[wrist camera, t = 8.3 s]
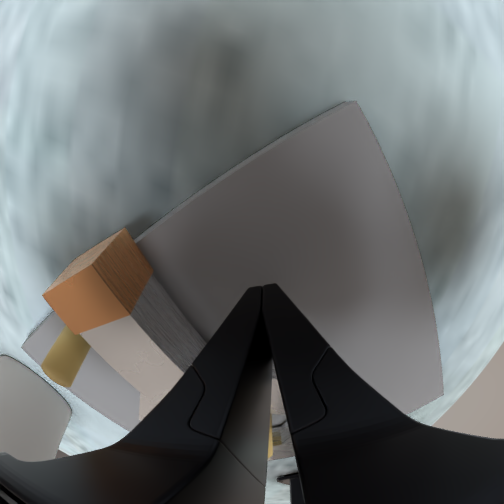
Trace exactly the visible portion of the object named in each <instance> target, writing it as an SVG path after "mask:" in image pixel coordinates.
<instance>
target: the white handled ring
mask: <svg viewBox="0 0 504 504" xmlns="http://www.w3.org/2000/svg"><path fill="white" fill-rule="evenodd" d="M153 271H154V270H153V268H152V267H151V265H150V264H149V262H148V261H147V260H146V258H145V257H144V255H143V254H142V252H141V251H140V249H139V248H138V246H137V245H136V243H135V242H134V240H133V239H132V237H131V236H130V234H129V233H128V231H127V229H126V228H123V229H122V230H120V231H118V232H117V233H115V234H113V235H112V236H110V237H109V238H107V239H105V240H104V241H102V242H100V243H99V244H97V245H96V246H94V247H93V248H91V249H89V250H88V251H86V252H85V253H83V254H82V255H80V256H79V257H77V258H76V259H74V260H73V261H72V263H71V264H70V265H69V266H68V267H67V268H66V269H65V270H64V271H63V272H62V273H61V274H60V275H59V277H58V278H57V279H56V280H55V281H54V282H53V283H52V284H51V286H50V287H49V288H48V289H47V290H46V291H45V292H44V294H43V295H42V296H43V297H44V299H45V300H46V301H47V302H48V304H49V305H50V306H51V307H52V309H53V310H54V311H55V312H56V314H57V315H58V316H59V317H60V318H61V320H62V321H63V322H64V323H65V324H66V325H67V327H68V328H69V329H70V330H71V331H72V332H73V333H74V334H75V335H77V334H80V335H81V336H82V337H83V338H84V339H85V340H86V341H87V343H88V344H89V345H90V346H91V347H92V348H93V349H94V350H95V351H96V352H97V353H98V354H99V355H100V356H101V357H102V358H103V359H104V360H105V361H106V362H107V363H108V364H109V365H110V366H111V367H112V368H113V369H115V370H116V371H117V372H118V373H119V374H120V375H121V376H122V377H123V378H124V379H125V380H127V381H128V382H129V383H130V384H131V385H132V386H133V387H135V388H136V389H137V390H138V391H139V392H140V405H139V420H140V421H141V420H142V419H143V418H144V417H145V416H146V415H147V414H148V413H149V412H150V411H151V410H152V409H153V408H154V407H155V406H156V405H157V404H158V403H159V402H160V401H161V400H162V399H163V398H164V397H165V396H166V395H167V393H168V392H169V391H170V390H171V389H172V388H173V387H174V385H175V384H176V383H177V382H178V380H179V379H180V378H181V377H182V376H183V374H184V373H185V372H186V370H187V369H188V368H189V366H191V365H192V363H193V361H194V360H195V359H196V357H197V356H198V355H199V353H200V352H201V351H202V349H203V348H204V347H205V345H206V344H207V343H206V342H205V341H204V339H203V338H202V337H201V336H200V334H199V333H198V332H197V331H196V330H195V328H194V327H193V326H192V325H191V323H190V322H189V321H188V320H187V318H186V317H185V316H184V314H183V313H182V312H181V311H180V309H179V308H178V307H177V305H176V304H175V303H174V301H173V300H172V299H171V297H170V296H169V295H168V293H167V292H166V291H165V289H164V288H163V287H162V285H161V284H160V283H159V281H158V280H157V278H156V277H155V276H154V274H153ZM270 413H271V414H279V415H285V410H284V406H283V402H282V398H281V393H280V389H279V385H278V380H277V376H276V372H275V367H274V363H273V369H272V391H271V411H270ZM285 416H286V415H285ZM272 441H273V455H272V456H271V457H270V458H268V460H275V459H282V458H287V457H293V456H295V453H294V449H293V445H292V440H291V436H290V432H289V427H288V423H287V421H286V422H285V423H284V424H283V425H282V426H281V427H277V428H272Z"/></svg>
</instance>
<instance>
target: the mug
mask: <svg viewBox="0 0 504 504" xmlns="http://www.w3.org/2000/svg"><path fill="white" fill-rule="evenodd" d="M70 418H71V408H70V407H69V405H68V403H67V402H66V401H65V400H64V399H63V397H62V396H61V395H60V394H59V393H58V392H57V391H56V390H55V389H54V388H52V387H51V386H50V385H49V384H48V383H47V382H46V381H44V380H43V379H42V378H41V377H39V376H38V375H37V374H36V373H34V372H33V371H32V370H30V369H29V368H27V367H26V366H24V365H23V364H21V363H20V362H18V361H16V360H15V359H13V358H10V357H8V356H0V453H1V452H7V453H8V454H10V455H12V456H13V457H15V458H16V459H18V460H21V461H28V462H37V461H45V460H51V459H55V456H56V453H57V450H58V448H59V445H60V442H61V440H62V437H63V435H64V432H65V430H66V428H67V426H68V423H69V421H70Z"/></svg>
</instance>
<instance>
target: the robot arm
mask: <svg viewBox="0 0 504 504" xmlns="http://www.w3.org/2000/svg"><path fill="white" fill-rule="evenodd" d="M273 363H274V367H275V372H276V376H277V380H278V385H279V389H280V393H281V398H282V402H283V406H284V410H285V415H286V419H287V423H288V427H289V432H290V436H291V440H292V445H293V449H294V453H295V458H296V463H297V467H298V472H299V474H296V475H291V476H286V477H280V478H277V482H280V483H284V484H288V485H290V500H291V504H504V439H494V438H488V437H481V436H475V435H470V434H464V433H459V432H454V431H449V430H445V429H441V428H436V427H432V426H428V425H425V424H422V423H420V422H417V421H415V420H414V419H412V418H410V417H409V416H407V415H406V414H404V413H403V412H402V411H400V410H399V409H398V408H397V407H395V406H394V405H393V404H392V403H391V402H389V401H388V400H387V399H386V398H385V397H383V396H382V395H381V394H380V393H379V392H377V391H376V390H375V389H374V388H373V387H371V386H370V385H369V384H368V383H367V382H366V381H364V380H363V379H362V378H361V377H360V376H359V375H358V374H357V373H356V372H355V371H353V370H352V369H351V368H350V367H349V366H348V364H347V363H346V362H345V361H344V360H343V359H342V358H341V357H340V356H339V355H338V354H337V352H336V351H335V350H334V349H333V348H332V347H331V346H330V345H329V343H328V342H327V341H326V340H325V339H324V338H323V336H322V335H321V334H320V333H319V332H318V331H317V329H316V328H315V327H314V326H313V325H312V324H311V322H310V321H309V320H308V319H307V318H306V317H305V316H304V314H303V313H302V312H301V311H300V310H299V309H298V307H297V306H296V305H295V304H294V303H293V302H292V300H291V299H290V298H289V297H288V296H287V295H286V293H285V292H284V291H283V290H282V289H281V288H280V286H279V285H278V284H277V283H272V284H266V285H264V286H263V287H262V286H254V287H249V288H248V289H247V290H246V291H245V293H244V294H243V295H242V297H241V298H240V299H239V301H238V302H237V304H236V305H235V306H234V308H233V309H232V310H231V312H230V313H229V314H228V316H227V317H226V318H225V320H224V321H223V323H222V324H221V325H220V327H219V328H218V329H217V331H216V332H215V333H214V335H213V336H212V337H211V339H210V340H209V341H208V343H207V344H206V345H205V347H204V348H203V349H202V351H201V352H200V353H199V355H198V356H197V357H196V359H195V360H194V361H193V363H192V365H191V366H189V368H188V369H187V370H186V372H185V373H184V374H183V376H182V377H181V378H180V379H179V380H178V382H177V383H176V384H175V385H174V387H173V388H172V389H171V390H170V391H169V392H168V393H167V395H166V396H165V397H164V398H163V399H162V400H161V401H160V402H159V403H158V404H157V405H156V406H155V407H154V408H153V409H152V410H151V411H150V412H149V413H148V414H147V415H146V416H145V417H144V418H143V419H142V420H141V421H140V422H139V423H138V424H137V425H136V426H135V427H134V428H133V429H132V430H131V431H130V432H129V433H128V434H127V435H126V436H125V437H124V438H122V439H121V440H120V441H118V442H117V443H115V444H113V445H111V446H108V447H106V448H103V449H99V450H95V451H91V452H86V453H82V454H78V455H73V456H68V457H63V458H57V459H51V460H45V461H37V462H28V461H21V460H18V459H16V458H15V457H13V456H12V455H10V454H8V453H7V452H1V453H0V504H264V501H265V486H266V475H267V461H268V445H269V429H270V411H271V391H272V369H273Z"/></svg>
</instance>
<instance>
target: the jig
mask: <svg viewBox="0 0 504 504" xmlns="http://www.w3.org/2000/svg"><path fill="white" fill-rule="evenodd" d="M134 242H135V243H136V245H137V246H138V248H139V249H140V251H141V252H142V254H143V255H144V257H145V258H146V260H147V261H148V262H149V264H150V265H151V267H152V268H153V270H154V271H153V274H154V276H155V277H156V278H157V280H158V281H159V283H160V284H161V285H162V287H163V288H164V289H165V291H166V292H167V293H168V295H169V296H170V297H171V299H172V300H173V301H174V303H175V304H176V305H177V307H178V308H179V309H180V311H181V312H182V313H183V314H184V316H185V317H186V318H187V320H188V321H189V322H190V323H191V325H192V326H193V327H194V328H195V330H196V331H197V332H198V333H199V334H200V336H201V337H202V338H203V339H204V341H205V342H206V343H208V341H209V340H210V339H211V337H212V336H213V335H214V333H215V332H216V331H217V329H218V328H219V327H220V325H221V324H222V323H223V321H224V320H225V318H226V317H227V316H228V314H229V313H230V312H231V310H232V309H233V308H234V306H235V305H236V304H237V302H238V301H239V299H240V298H241V297H242V295H243V294H244V293H245V291H246V290H247V289H248V288H249V287H254V286H262V287H263V286H264V285H266V284H272V283H277V284H278V285H279V286H280V288H281V289H282V290H283V291H284V292H285V293H286V295H287V296H288V297H289V298H290V299H291V300H292V302H293V303H294V304H295V305H296V306H297V307H298V309H299V310H300V311H301V312H302V313H303V314H304V316H305V317H306V318H307V319H308V320H309V321H310V322H311V324H312V325H313V326H314V327H315V328H316V329H317V331H318V332H319V333H320V334H321V335H322V336H323V338H324V339H325V340H326V341H327V342H328V343H329V345H330V346H331V347H332V348H333V349H334V350H335V351H336V352H337V354H338V355H339V356H340V357H341V358H342V359H343V360H344V361H345V362H346V363H347V364H348V366H349V367H350V368H351V369H352V370H353V371H355V372H356V373H357V374H358V375H359V376H360V377H361V378H362V379H363V380H364V381H366V382H367V383H368V384H369V385H370V386H371V387H373V388H374V389H375V390H376V391H377V392H379V393H380V394H381V395H382V396H383V397H385V398H386V399H387V400H388V401H389V402H391V403H392V404H393V405H394V406H395V407H397V408H398V409H399V410H400V411H402V412H403V413H404V414H409V413H411V412H413V411H415V410H416V409H418V408H420V407H422V406H424V405H426V404H428V403H430V402H432V401H433V400H435V399H437V398H439V397H440V396H442V395H444V393H443V377H442V366H441V356H440V348H439V340H438V334H437V327H436V321H435V316H434V310H433V305H432V300H431V295H430V291H429V286H428V282H427V278H426V274H425V270H424V266H423V262H422V258H421V255H420V251H419V248H418V245H417V241H416V238H415V235H414V232H413V228H412V225H411V222H410V219H409V216H408V214H407V211H406V208H405V205H404V202H403V200H402V197H401V194H400V192H399V189H398V187H397V184H396V182H395V179H394V177H393V175H392V172H391V170H390V167H389V165H388V163H387V161H386V158H385V156H384V154H383V152H382V150H381V148H380V145H379V143H378V141H377V139H376V137H375V135H374V133H373V131H372V129H371V127H370V125H369V123H368V121H367V119H366V118H365V116H364V114H363V112H362V110H361V108H360V107H359V105H358V103H357V101H349V102H343V103H341V104H340V105H338V106H336V107H334V108H332V109H330V110H328V111H326V112H325V113H323V114H321V115H319V116H317V117H315V118H314V119H312V120H310V121H308V122H306V123H305V124H303V125H301V126H299V127H298V128H296V129H294V130H293V131H291V132H289V133H287V134H286V135H284V136H282V137H281V138H279V139H277V140H276V141H274V142H272V143H271V144H269V145H268V146H266V147H264V148H263V149H261V150H259V151H258V152H256V153H255V154H253V155H252V156H250V157H248V158H247V159H245V160H244V161H242V162H241V163H239V164H238V165H236V166H235V167H233V168H232V169H230V170H229V171H227V172H226V173H224V174H223V175H221V176H220V177H218V178H217V179H215V180H214V181H212V182H211V183H209V184H208V185H207V186H205V187H204V188H202V189H201V190H199V191H198V192H197V193H195V194H194V195H192V196H191V197H190V198H188V199H187V200H185V201H184V202H183V203H181V204H180V205H179V206H177V207H176V208H175V209H173V210H172V211H170V212H169V213H168V214H166V215H165V216H164V217H163V218H161V219H160V220H159V221H157V222H156V223H155V224H153V225H152V226H151V227H150V228H148V229H147V230H146V231H144V232H143V233H142V234H141V235H139V236H138V237H137V238H136V239H134ZM21 348H22V349H23V350H24V351H25V352H26V353H27V354H28V355H29V356H30V357H31V358H32V359H33V360H34V361H35V362H36V363H37V364H38V365H40V366H41V368H42V370H43V371H44V373H45V374H46V375H47V376H48V377H49V378H50V379H51V380H53V381H54V382H56V383H57V384H59V385H61V386H63V387H65V388H67V389H68V390H69V391H70V392H72V393H73V394H74V395H76V396H77V397H78V398H80V399H81V400H82V401H84V402H85V403H86V404H88V405H89V406H91V407H92V408H93V409H95V410H96V411H98V412H99V413H101V414H102V415H104V416H105V417H107V418H108V419H110V420H112V421H113V422H115V423H116V424H118V425H120V426H121V427H123V428H125V429H126V430H128V431H131V430H132V429H133V428H134V427H135V426H136V425H137V424H138V423H139V422H140V420H139V405H140V392H139V391H138V390H137V389H136V388H135V387H133V386H132V385H131V384H130V383H129V382H128V381H127V380H125V379H124V378H123V377H122V376H121V375H120V374H119V373H118V372H117V371H116V370H115V369H113V368H112V367H111V366H110V365H109V364H108V363H107V362H106V361H105V360H104V359H103V358H102V357H101V356H100V355H99V354H98V353H97V352H96V351H95V350H94V349H93V348H92V347H91V346H90V345H89V344H88V343H87V341H86V340H85V339H84V338H83V337H82V336H81V335H80V334H77V335H75V334H74V333H73V332H72V331H71V330H70V329H69V328H68V327H67V325H66V324H65V323H64V322H63V321H62V320H61V318H60V317H59V316H58V315H57V314H56V312H55V311H53V312H52V313H51V314H50V315H49V316H48V317H47V318H46V319H45V320H44V321H43V322H42V323H41V324H40V325H39V326H38V327H37V328H36V329H35V330H34V331H33V332H32V333H31V334H30V335H29V336H28V338H27V339H26V341H25V342H24V344H23V345H22V346H21ZM286 421H287V419H286V416H285V415H279V414H271V413H270V429H269V445H268V458H270V457H271V456H272V455H273V441H272V428H277V427H281V426H282V425H283V424H284V423H285V422H286Z"/></svg>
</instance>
